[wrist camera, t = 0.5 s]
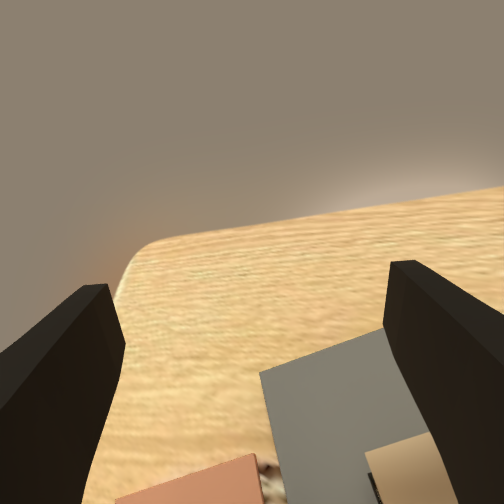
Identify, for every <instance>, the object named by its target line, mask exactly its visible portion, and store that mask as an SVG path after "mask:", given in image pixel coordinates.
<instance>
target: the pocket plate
mask: <svg viewBox="0 0 504 504" xmlns="http://www.w3.org/2000/svg"><path fill="white" fill-rule="evenodd" d="M259 375H260V379H261V384H262V388H263V393H264V397H265V402H266V407H267V411H268V416H269V420H270V425H271V429H272V434H273V438H274V443H275V447H276V452H277V456H278V461H279V465H280V470H281V474H282V479H283V483H284V488H285V492H286V497H287V501H288V504H381V503H380V501H379V498H378V495H377V492H376V489H375V487H374V484H373V483H375V480H374V478H373V475H372V472H371V469H370V467H369V464H368V461H367V458H366V456H365V452H368V451H371V450H374V449H377V448H381V447H384V446H387V445H390V444H393V443H396V442H399V441H402V440H405V439H408V438H411V437H414V436H418V435H421V434H424V433H427V432H430V431H429V429H428V427H427V425H426V423H425V421H424V419H423V417H422V415H421V413H420V411H419V409H418V407H417V405H416V403H415V401H414V399H413V397H412V395H411V393H410V391H409V389H408V387H407V384H406V382H405V380H404V378H403V376H402V374H401V372H400V370H399V368H398V366H397V364H396V361H395V359H394V357H393V354H392V351H391V348H390V345H389V342H388V339H387V336H386V333H385V330H384V328H381V329H379V330H376V331H373V332H370V333H368V334H365V335H362V336H359V337H357V338H354V339H351V340H348V341H345V342H343V343H340V344H337V345H334V346H332V347H329V348H326V349H323V350H321V351H318V352H315V353H312V354H309V355H307V356H304V357H301V358H298V359H296V360H293V361H290V362H287V363H285V364H282V365H279V366H276V367H273V368H271V369H268V370H265V371H262V372H260V373H259Z"/></svg>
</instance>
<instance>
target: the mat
mask: <svg viewBox="0 0 504 504" xmlns="http://www.w3.org/2000/svg"><path fill="white" fill-rule="evenodd" d="M115 504H265V503H264V498H263V492H262V487H261V482H260V476H259V471H258V465H257V460H256V455H255V454H254V453H252V454H249V455H246V456H243V457H240V458H237V459H234V460H231V461H228V462H225V463H222V464H219V465H216V466H213V467H210V468H207V469H204V470H201V471H198V472H195V473H192V474H189V475H186V476H183V477H180V478H177V479H174V480H171V481H168V482H165V483H162V484H159V485H157V486H154V487H151V488H148V489H145V490H142V491H139V492H136V493H133V494H130V495H127V496H124V497H121V498H118V499H115Z"/></svg>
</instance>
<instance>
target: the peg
mask: <svg viewBox="0 0 504 504" xmlns="http://www.w3.org/2000/svg"><path fill="white" fill-rule="evenodd" d="M365 456H366V458H367V461H368V464H369V467H370V469H371V472H372V475H373V478H374V480H375V483H376V486H377V488H378V491H379V494H380V497H381V499H382V502H383V504H458V501H457V498H456V496H455V493H454V490H453V488H452V485H451V482H450V480H449V477H448V474H447V471H446V469H445V466H444V463H443V461H442V458H441V456H440V453H439V451H438V449H437V447H436V444H435V442H434V440H433V437H432V435H431V433H430V432H427V433H424V434H421V435H418V436H414V437H411V438H408V439H405V440H402V441H399V442H396V443H393V444H390V445H387V446H384V447H381V448H377V449H374V450H371V451H368V452H365Z"/></svg>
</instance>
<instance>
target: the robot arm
mask: <svg viewBox="0 0 504 504" xmlns="http://www.w3.org/2000/svg"><path fill="white" fill-rule="evenodd" d="M383 326H384V330H385V333H386V336H387V339H388V342H389V345H390V348H391V351H392V354H393V357H394V359H395V361H396V364H397V366H398V368H399V370H400V372H401V374H402V376H403V378H404V380H405V382H406V384H407V387H408V389H409V391H410V393H411V395H412V397H413V399H414V401H415V403H416V405H417V407H418V409H419V411H420V413H421V415H422V417H423V419H424V421H425V423H426V425H427V427H428V429H429V431H430V433H431V435H432V437H433V440H434V442H435V444H436V447H437V449H438V451H439V453H440V456H441V458H442V461H443V463H444V466H445V469H446V471H447V474H448V477H449V480H450V482H451V485H452V488H453V490H454V493H455V496H456V498H457V501H458V504H504V315H503V314H502V313H500V312H498V311H497V310H495V309H493V308H491V307H490V306H488V305H486V304H485V303H483V302H482V301H480V300H478V299H477V298H475V297H473V296H472V295H470V294H469V293H467V292H465V291H464V290H462V289H461V288H459V287H458V286H456V285H455V284H453V283H451V282H450V281H448V280H447V279H445V278H444V277H442V276H441V275H439V274H437V273H436V272H434V271H433V270H431V269H430V268H428V267H426V266H425V265H423V264H421V263H419V262H418V261H416V260H407V261H394V262H391V263H390V271H389V279H388V286H387V294H386V302H385V310H384V317H383ZM125 345H126V343H125V340H124V336H123V333H122V330H121V326H120V323H119V320H118V317H117V313H116V310H115V307H114V303H113V300H112V297H111V294H110V290H109V287H108V284H95V285H84V286H82V287H81V288H79V289H78V290H77V291H75V292H74V293H73V294H72V295H70V296H69V297H68V298H67V299H66V300H64V301H63V302H62V303H61V304H60V305H59V306H57V307H56V308H55V309H54V310H53V311H52V312H50V313H49V314H48V315H47V316H46V317H44V318H43V319H42V320H41V321H40V322H39V323H37V324H36V325H35V326H34V327H33V328H31V329H30V330H29V331H28V332H27V333H26V334H24V335H23V336H22V337H21V338H19V339H18V340H17V341H16V342H14V343H13V344H12V345H10V346H9V347H8V348H7V349H5V350H4V351H3V352H1V353H0V504H81V503H82V498H83V494H84V489H85V485H86V481H87V478H88V474H89V471H90V467H91V464H92V461H93V458H94V455H95V452H96V449H97V446H98V443H99V440H100V437H101V434H102V431H103V428H104V425H105V422H106V419H107V416H108V413H109V410H110V407H111V403H112V400H113V397H114V394H115V391H116V388H117V385H118V381H119V378H120V373H121V368H122V363H123V357H124V351H125Z"/></svg>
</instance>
